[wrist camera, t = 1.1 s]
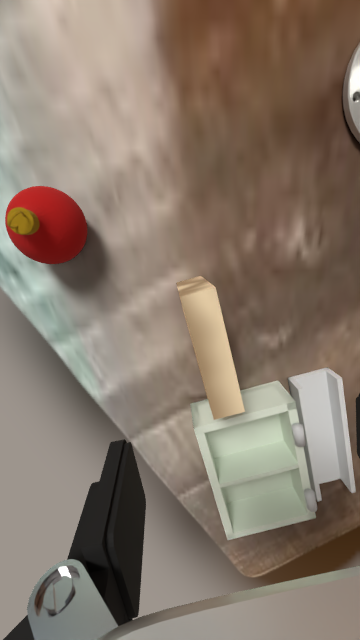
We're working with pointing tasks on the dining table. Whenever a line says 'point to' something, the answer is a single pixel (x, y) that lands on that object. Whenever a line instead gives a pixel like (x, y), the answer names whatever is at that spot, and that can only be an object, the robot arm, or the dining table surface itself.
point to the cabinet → (276, 451)
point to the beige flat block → (211, 346)
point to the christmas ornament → (46, 225)
